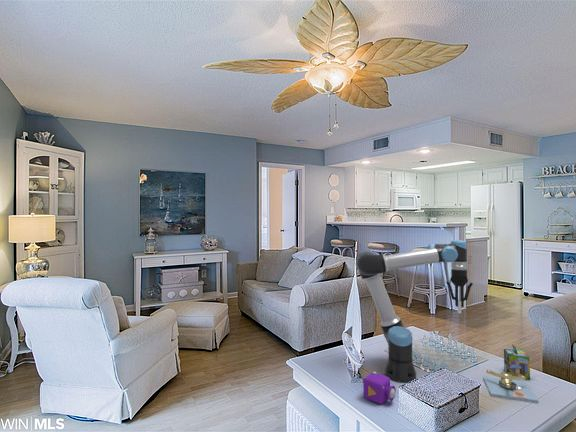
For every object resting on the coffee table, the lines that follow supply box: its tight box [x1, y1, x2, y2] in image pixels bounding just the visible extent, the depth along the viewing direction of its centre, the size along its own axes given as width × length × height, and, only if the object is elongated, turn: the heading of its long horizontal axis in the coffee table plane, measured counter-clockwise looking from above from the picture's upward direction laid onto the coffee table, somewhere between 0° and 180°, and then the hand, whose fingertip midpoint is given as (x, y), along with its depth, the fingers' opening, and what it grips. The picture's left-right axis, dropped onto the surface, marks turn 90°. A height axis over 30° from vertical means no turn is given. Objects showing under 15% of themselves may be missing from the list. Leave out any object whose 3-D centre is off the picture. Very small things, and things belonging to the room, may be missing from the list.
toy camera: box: [362, 371, 397, 405], centre depth 150 cm, size 11×14×10 cm
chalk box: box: [503, 344, 531, 380], centre depth 172 cm, size 9×9×15 cm
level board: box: [482, 376, 540, 404], centre depth 157 cm, size 18×17×2 cm
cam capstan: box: [486, 369, 526, 394], centre depth 157 cm, size 16×17×6 cm
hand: (459, 312), depth 181 cm, fingers closed
